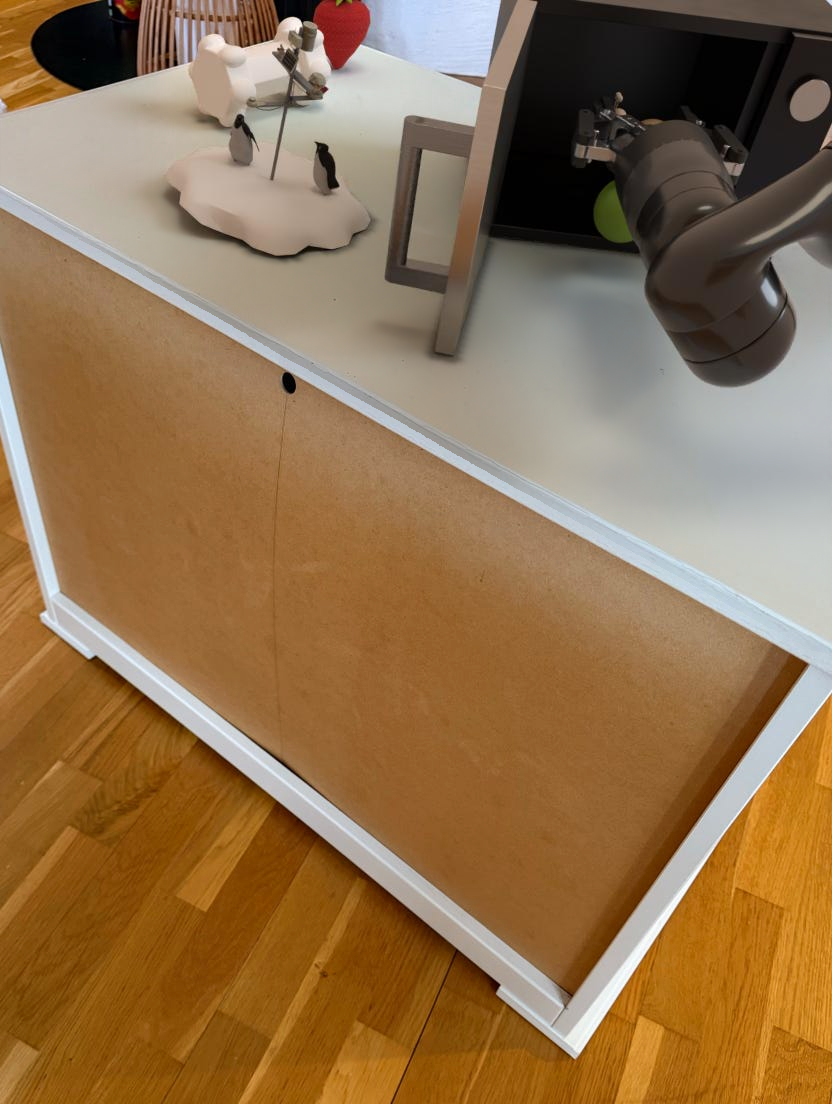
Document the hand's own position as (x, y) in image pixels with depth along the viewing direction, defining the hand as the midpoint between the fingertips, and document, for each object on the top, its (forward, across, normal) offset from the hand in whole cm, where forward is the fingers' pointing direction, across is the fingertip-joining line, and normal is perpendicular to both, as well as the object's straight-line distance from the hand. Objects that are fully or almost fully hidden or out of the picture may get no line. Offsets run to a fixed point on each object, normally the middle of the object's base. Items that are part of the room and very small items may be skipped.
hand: (639, 113), depth 80 cm
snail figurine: (-2, 0, +10) cm, 10 cm away
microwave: (+10, -2, +13) cm, 16 cm away
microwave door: (-10, +16, +13) cm, 23 cm away
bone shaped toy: (+26, +36, +12) cm, 46 cm away
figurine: (+2, +33, +13) cm, 35 cm away
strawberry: (+43, +28, +12) cm, 53 cm away
